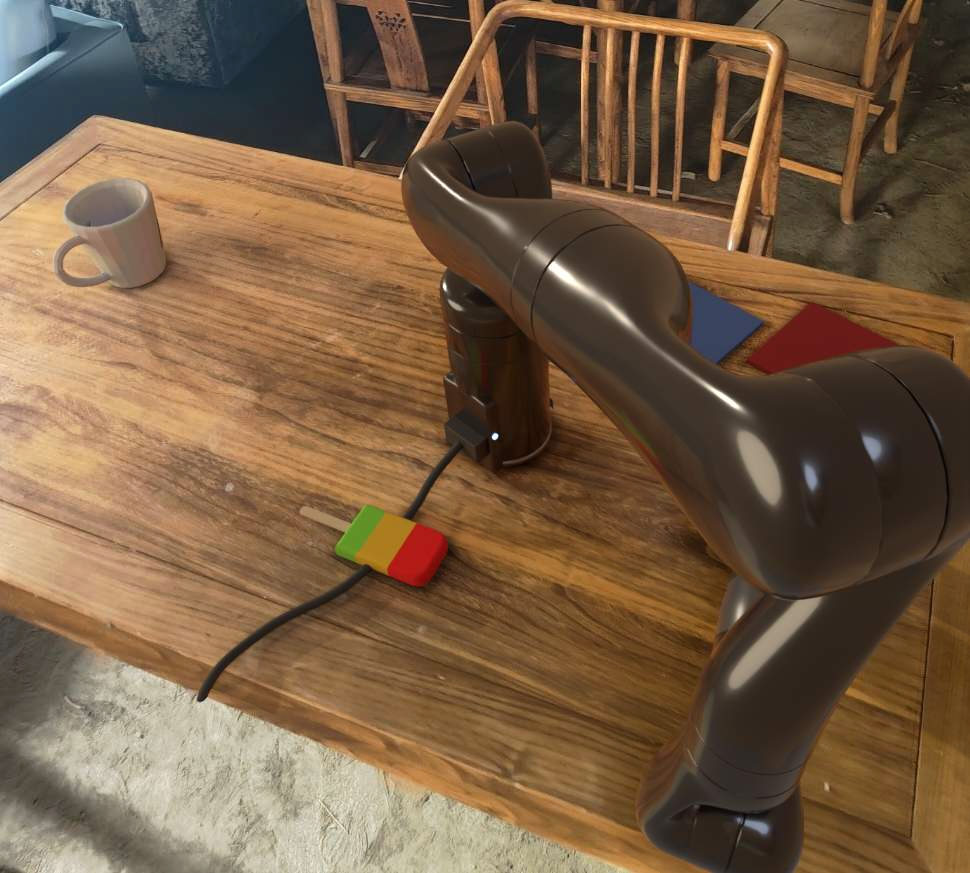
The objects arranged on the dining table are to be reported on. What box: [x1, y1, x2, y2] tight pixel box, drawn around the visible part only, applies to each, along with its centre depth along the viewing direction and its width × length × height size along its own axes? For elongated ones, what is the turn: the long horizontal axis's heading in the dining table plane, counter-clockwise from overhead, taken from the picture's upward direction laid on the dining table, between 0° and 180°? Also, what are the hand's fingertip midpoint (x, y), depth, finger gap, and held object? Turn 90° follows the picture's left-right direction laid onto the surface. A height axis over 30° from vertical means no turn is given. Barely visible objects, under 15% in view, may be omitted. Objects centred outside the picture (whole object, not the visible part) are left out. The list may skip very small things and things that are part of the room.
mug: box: [52, 177, 167, 289], centre depth 111 cm, size 10×15×10 cm
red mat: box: [746, 301, 900, 375], centre depth 97 cm, size 12×12×1 cm
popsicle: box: [299, 503, 449, 587], centre depth 86 cm, size 6×15×2 cm, turn 63°
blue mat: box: [688, 280, 765, 365], centre depth 102 cm, size 12×12×1 cm
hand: (818, 450), depth 79 cm, fingers open, 8 cm apart
